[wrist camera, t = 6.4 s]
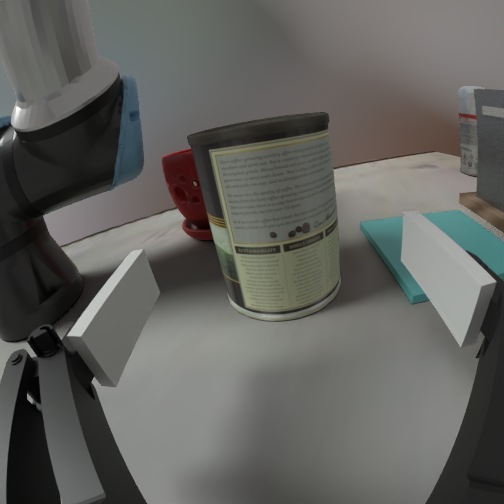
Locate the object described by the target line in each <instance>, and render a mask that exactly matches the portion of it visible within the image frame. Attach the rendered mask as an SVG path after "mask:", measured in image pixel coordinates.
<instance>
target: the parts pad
mask: <svg viewBox="0 0 504 504" xmlns="http://www.w3.org/2000/svg"><path fill="white" fill-rule="evenodd" d="M422 215H423V216H424V217H426V218H427V219H428V220H429V221H431V222H432V223H433V224H434V225H435V226H437V227H438V228H439V229H440V230H441V231H443V232H444V233H445V234H446V235H447V236H449V237H450V238H451V239H452V240H453V241H454V242H455V243H457V244H458V245H459V246H460V247H461V248H462V249H463V250H464V251H465V250H467V251H469V252H471V253H473V254H475V255H477V256H478V257H479V258H480V259H481V260H482V261H483V263H485V264H486V265H487V266H488V268H490V269H491V270H493V271H494V272H495V273H496V274H497V275H498V276H499V277H500V278H501V279H502V280H504V242H502V241H501V240H500V239H498V238H497V237H496V236H495V235H493V234H492V233H491V232H489V231H488V230H486V229H485V228H484V227H482V226H481V225H480V224H478V223H477V222H475V221H474V220H473V219H471V218H470V217H468V216H467V215H465V214H464V213H462V212H461V211H459V210H454V211H445V212H437V213H429V214H422ZM360 229H361V230H362V232H363V233H364V234H365V236H366V237H367V238H368V240H369V241H370V242H371V244H372V245H373V247H374V248H375V249H376V251H377V252H378V254H379V255H380V257H381V258H382V259H383V261H384V262H385V264H386V265H387V267H388V268H389V270H390V271H391V273H392V274H393V276H394V277H395V279H396V280H397V282H398V283H399V285H400V286H401V288H402V289H403V291H404V293H405V294H406V296H407V297H408V299H409V300H410V302H411V304H415V303H419V302H424V301H428V300H429V298H428V297H427V295H426V294H425V293H424V291H423V290H422V288H421V287H420V286H419V284H418V283H417V282H416V280H415V279H414V277H413V276H412V275H411V273H410V272H409V271H408V269H407V268H406V267H405V265H404V264H403V263H402V262H401V251H402V233H403V217H396V218H389V219H381V220H373V221H365V222H360Z"/></svg>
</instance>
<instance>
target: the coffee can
mask: <svg viewBox="0 0 504 504" xmlns="http://www.w3.org/2000/svg"><path fill="white" fill-rule="evenodd" d="M328 123H329V115H328V113H325V112H320V113H305V114H296V115H286V116H279V117H272V118H266V119H259V120H253V121H248V122H243V123H237V124H232V125H227V126H222V127H217V128H213V129H209V130H205V131H201V132H198V133H194V134H191V135H189V136H188V137H187V139H188V143H189V145H190V146H191V149H192V153H193V158H194V162H195V166H196V170H197V174H198V178H199V182H200V187H201V191H202V195H203V199H204V203H205V207H206V211H207V215H208V219H209V223H210V227H211V231H212V235H213V239H214V243H215V247H216V250H217V254H218V258H219V262H220V266H221V269H222V273H223V277H224V281H225V284H226V288H227V294H228V299H229V301H230V303H231V305H232V306H233V307H234V308H235V309H236V310H237V311H239V312H240V313H242V314H244V315H246V316H248V317H251V318H254V319H259V320H264V321H285V320H292V319H298V318H301V317H304V316H306V315H309V314H312V313H314V312H316V311H318V310H320V309H322V308H323V307H325V306H326V305H327V304H328V303H330V302H331V301H332V300H333V298H334V297H335V296H336V295H337V293H338V291H339V289H340V285H341V276H340V261H339V237H338V220H337V206H336V193H335V183H334V172H333V162H332V154H331V147H330V138H329V131H328Z"/></svg>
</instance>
